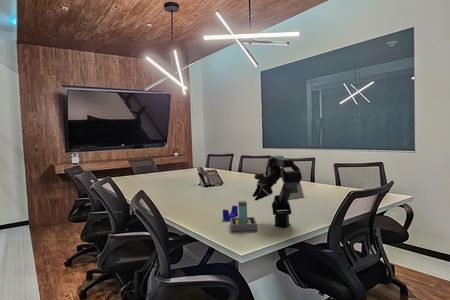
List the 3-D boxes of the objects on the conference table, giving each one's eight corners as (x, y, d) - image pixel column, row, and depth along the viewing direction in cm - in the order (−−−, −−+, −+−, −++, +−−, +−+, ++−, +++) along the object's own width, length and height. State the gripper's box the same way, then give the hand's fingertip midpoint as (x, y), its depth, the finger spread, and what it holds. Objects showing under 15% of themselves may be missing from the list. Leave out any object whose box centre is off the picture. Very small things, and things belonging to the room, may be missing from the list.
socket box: (254, 223, 163) (253, 216, 163) (257, 230, 150) (257, 223, 150) (230, 224, 162) (230, 218, 162) (231, 232, 149) (231, 225, 149)
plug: (246, 225, 158) (245, 200, 157) (247, 227, 154) (246, 202, 153) (239, 225, 158) (238, 201, 157) (239, 227, 154) (238, 202, 153)
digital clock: (285, 200, 217) (285, 185, 216) (280, 197, 226) (280, 183, 225) (306, 198, 220) (305, 183, 220) (300, 195, 229) (300, 182, 229)
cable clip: (229, 221, 169) (229, 210, 169) (223, 220, 172) (222, 210, 172) (240, 215, 180) (239, 206, 179) (233, 215, 182) (233, 205, 182)
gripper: (260, 165, 171) (241, 185, 172) (265, 169, 153) (244, 191, 153) (274, 178, 172) (255, 198, 172) (281, 183, 153) (260, 206, 154)
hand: (254, 198), depth 163 cm, fingers open, 9 cm apart
